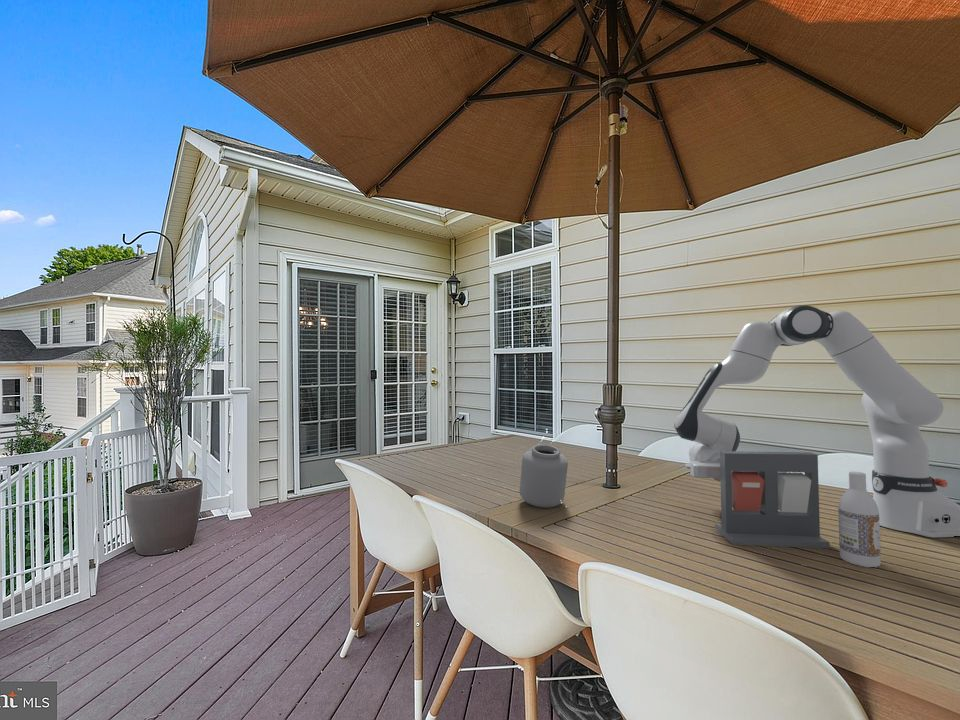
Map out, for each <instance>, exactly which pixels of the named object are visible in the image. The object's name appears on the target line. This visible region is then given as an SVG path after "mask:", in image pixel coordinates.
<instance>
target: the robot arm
mask: <svg viewBox="0 0 960 720" xmlns="http://www.w3.org/2000/svg"><path fill="white" fill-rule="evenodd" d="M812 341H814V342H817V343H818V344H819V345H821V346H822V347H823V348H825V351H827V353H828V354H829V357H831V358H832V359H833V360H834V362H835V363H836V365H837V366H838V367H839V369H841V371H842V372H843V374H844V375H845V376H846V377H847V378H848V379H849V380H850V381H851V382H852V383H854V384H855V386H857V387H858V388H859V389H860V390H861V391H862V392H863V394H862V397H861V405H862V407H863V409H864V411H865V415H866V420H867V424H868V429H869V432H870V436H871V442H872V451H873V452H872V455H873V456H872V457H873V469H872V471H871V484H872V490H873V496H872V498H873V499H874V501H875V502H876V504H877V506H878V510H879V521H880V526H881V527H884V528H888V529H891V530H896V531H899V532H903V533H904V532H906V533H911V534H914V535H915V534H916V535H918V536H919V535H920V536H922V537H923V536H924V537H927V538H934V539H935V538H955V537H954V536H960V504H958V503H957V502H955V501H954V500H952V499H951V498H949V497H948V496H946V495H944V494H943V493H941V492H940V491H938V488H937V487H941V488H947V487H948V486H949V485H948V484H949V483H948V481H947V480H945V479H942V478H938V477H937V478H933V477H932V476H930V462H929V460H930V458H929V457H930V456H929V447H928V445H927V443H926V442H925V440H924V438H923V435H922V432H921V430H920V427H922V426H926V425H930V424H932V423H933V424H934V423H935V422H936V421H938V420H939V419H940V418H941V416H942V414H943V412H944V404H943V400H942V399H941V398H940V397H939V396H938V395H937V394H936V393H934V392H932V391H931V390H930V389H928V388H927V387H926V386H924V385H923V384H922V383H921V382H920V381H919V380H918V379H917V378H916V377H915V376H913V375H912V373H910V372H909V371H908V370H906V369H905V368H904V367H903V366H902V365H900V363H898V362H897V361H896V360H895V359H894V358H893V356H892V355H891V354H889V352H888V351H887V350H886V349H885V347H884V346H883V345H882V344H881V342H880V341H879V339H877V337H876V336H875V335H874V334H873V333H872V331H871V330H870V329H869V328H868V327H867V326H865V325H864V323H863V322H861V320H860V319H858V318H857V317H856V316H855V315H853V314H852V313H851V312H849V311H846V310H835V311H829V312H827V311H824V310H822V309H819V308H818V307H815V306H811V305H805V304H804V305H802V304H801V305H800V304H799V305H795V306H793V307H791V308H788V309H785V310H783V311H782V312H780V313H778V314H777V315H776V316H775V317H773V318H772V319H771V320H769V321H768V322H764V321H759V320H758V321H757V320H754V321H750V322H747V323H746V324H745V325H744V326H743V327H742V329H741V330H740V332H739V333H738V334H737V337H736V338H735V339H734V342H733V344H732V346H731V349H730V350H729V353H728V355H727V356H726V357H725V359H723V361H721V362H719V363H718V362H717V363H714V364H713V365H712V366H711V367H710V368H709V369H708V370H707V372H706V374H704V376H703V377H702V379H701V381H700V382H699V384H698V386H697V387H696V389H695V391H694V392H693V394H692V395H691V397H690V398H689V400H688V401H687V403H686V405H685V406H684V407H683V408H682V409H681V411H680V412H679V413H678V414H677V416H676V418H675V421H674V424H673V425H674V429H675V431H676V433H677V434H678V436H679V437H680V439H683V440H687V441H691V442H695V443H696V444H694V445H692V446H691V447H690V448H689V450H688V456H689V463H685V464H684V467H685V469H688V470H689V473H690V474H691V476H692V477H693V478H697V479H698V478H699V479H712V480H715V481H717V482H721V479H720V451H737V450H738V448H739V445H740V443H741V434H740V431H739V429H738V427H737V425H736V423H734V422H732V421H729V420H726V419H724V418H720V417H717V416H715V415H713V414H708V413H706V412H703V410H704V408H705V407H706V405H707V404H708V401H709V400H710V399H711V397H712V396H713V394H714V392H715V391H716V390H717V389H718V388H719V387H722V386H725V385H744V384H745V385H747V384H751V383H755V382H757V381H758V380H760V379H762V378H763V377H764V376H765V374H766V372H767V370H768V368H769V365H770V363H771V360H772V358H773V354H774V353H775V351H776V350H777V348H778V347H780V346H782V347H783V346H784V347H790V346H791V347H792V346H800V345H803V344H806V343H808V342H812ZM734 472H757V473H758V474H759V471H734ZM731 475H732V471H731Z"/></svg>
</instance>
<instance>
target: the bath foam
mask: <svg viewBox="0 0 960 720" xmlns="http://www.w3.org/2000/svg"><path fill="white" fill-rule="evenodd" d="M848 485H849V486H848V487H849V488H848V489H846V491H845V492H844V493H843V494H842V495H841V497H840V499H839V501H838V509H837V510H838V511H837V512H838V540H839V546H838V547H839V557H840V558H841V560H843V561H844V562H846V563H848V562H849V564H851V565H854V564H855V565H854V566H857V565H859V567H862V566H865V567H864V568H869V567H875V568H879V567H880V566H881V561H882V560H881V530H880V529H881V527H880V521H879V510H878V506H877V504H876V502H875V501H874V499H873V496H872V495H871V494H870V492H869V491H868V490H867V475H866V473H864V472H860V471H849V472H848ZM878 566H879V567H878Z"/></svg>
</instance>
